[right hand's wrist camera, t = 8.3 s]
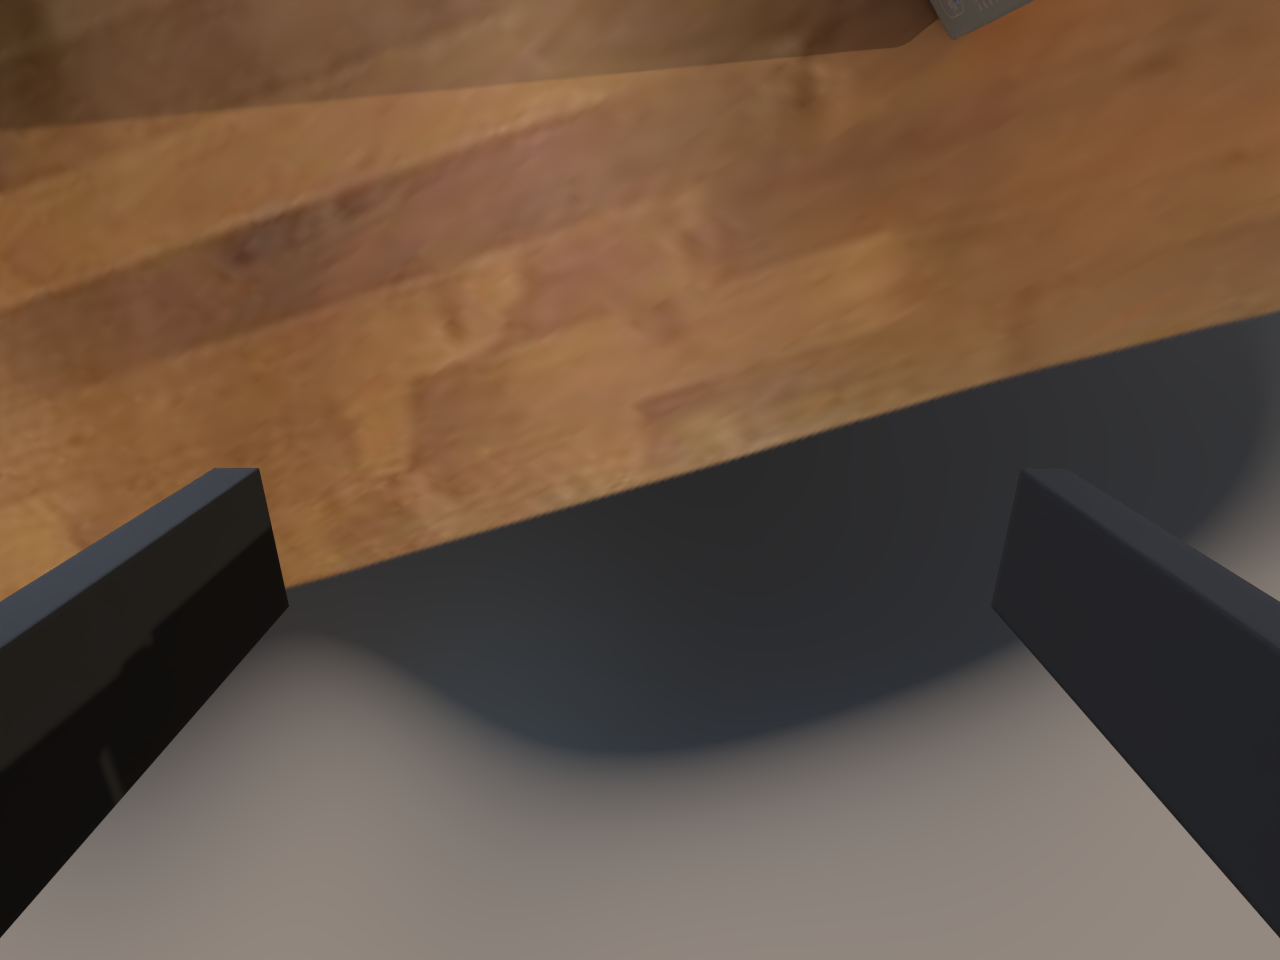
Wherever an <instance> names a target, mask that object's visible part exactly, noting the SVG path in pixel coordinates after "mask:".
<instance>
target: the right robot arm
mask: <svg viewBox="0 0 1280 960" xmlns="http://www.w3.org/2000/svg"><path fill="white" fill-rule="evenodd" d="M288 607H289V605H288V600H287V595H286V591H285V586H284V582H283V577H282V572H281V568H280V563H279V558H278V554H277V549H276V545H275V540H274V535H273V531H272V526H271V522H270V517H269V512H268V508H267V503H266V498H265V494H264V489H263V485H262V480H261V475H260V471H259V468H214V469H213V470H211V471H209V472H208V473H206V474H204V475H203V476H201V477H200V478H198V479H196V480H195V481H193V482H192V483H190V484H188V485H187V486H185V487H184V488H182V489H180V490H179V491H177V492H176V493H174V494H172V495H171V496H169V497H168V498H166V499H164V500H163V501H161V502H160V503H158V504H156V505H155V506H153V507H152V508H150V509H148V510H147V511H145V512H144V513H142V514H140V515H139V516H137V517H136V518H134V519H132V520H131V521H129V522H128V523H126V524H124V525H123V526H121V527H120V528H118V529H116V530H115V531H113V532H112V533H110V534H108V535H107V536H105V537H104V538H102V539H100V540H99V541H97V542H96V543H94V544H92V545H91V546H89V547H87V548H86V549H84V550H83V551H81V552H79V553H78V554H76V555H75V556H73V557H71V558H70V559H68V560H67V561H65V562H63V563H62V564H60V565H59V566H57V567H55V568H54V569H52V570H51V571H49V572H47V573H46V574H44V575H43V576H41V577H39V578H38V579H36V580H35V581H33V582H31V583H30V584H28V585H27V586H25V587H23V588H22V589H20V590H19V591H17V592H15V593H14V594H12V595H11V596H9V597H7V598H6V599H4V600H3V601H1V602H0V938H1V936H2V935H3V934H4V933H5V932H6V931H7V930H8V928H9V927H10V926H11V925H12V924H13V923H14V921H15V920H16V919H17V918H18V917H19V916H20V915H21V913H22V912H23V911H24V910H25V909H26V908H27V906H28V905H29V904H30V903H31V902H32V901H33V900H34V898H35V897H36V896H37V895H38V894H39V893H40V892H41V890H42V889H43V888H44V887H45V886H46V885H47V884H48V882H49V881H50V880H51V879H52V878H53V877H54V876H55V874H56V873H57V872H58V871H59V870H60V869H61V867H62V866H63V865H64V864H65V863H66V862H67V861H68V859H69V858H70V857H71V856H72V855H73V854H74V853H75V851H76V850H77V849H78V848H79V847H80V846H81V844H82V843H83V842H84V841H85V840H86V839H87V838H88V836H89V835H90V834H91V833H92V832H93V831H94V829H95V828H96V827H97V826H98V825H99V824H100V823H101V821H102V820H103V819H104V818H105V817H106V816H107V815H108V813H109V812H110V811H111V810H112V809H113V808H114V807H115V805H116V804H117V803H118V802H119V801H120V800H121V798H122V797H123V796H124V795H125V794H126V793H127V792H128V790H129V789H130V788H131V787H132V786H133V785H134V783H135V782H136V781H137V780H138V779H139V778H140V777H141V776H142V774H143V773H144V772H145V771H146V770H147V769H148V767H149V766H150V765H151V764H152V763H153V762H154V761H155V759H156V758H157V757H158V756H159V755H160V754H161V753H162V751H163V750H164V749H165V748H166V747H167V746H168V745H169V743H170V742H171V741H172V740H173V739H174V738H175V736H176V735H177V734H178V733H179V732H180V731H181V729H182V728H183V727H184V726H185V725H186V724H187V723H188V722H189V720H190V719H191V718H192V717H193V716H194V715H195V713H196V712H197V711H198V710H199V709H200V708H201V707H202V705H203V704H204V703H205V702H206V701H207V700H208V699H209V697H210V696H211V695H212V694H213V693H214V692H215V690H216V689H217V688H218V687H219V686H220V685H221V684H222V682H223V681H224V680H225V679H226V678H227V677H228V676H229V674H230V673H231V672H232V671H233V670H234V669H235V668H236V666H237V665H238V664H239V663H240V662H241V661H242V659H243V658H244V657H245V656H246V655H247V654H248V653H249V651H250V650H251V649H252V648H253V647H254V646H255V645H256V643H257V642H258V641H259V640H260V639H261V638H262V637H263V635H264V634H265V633H266V632H267V631H268V630H269V628H270V627H271V626H272V625H273V624H274V623H275V622H276V620H277V619H278V618H279V617H280V616H281V615H282V613H283V612H284V611H285V610H286V609H287V608H288ZM991 607H992V608H993V609H994V610H995V611H996V612H997V614H998V615H999V616H1000V617H1001V618H1002V619H1003V620H1004V622H1005V623H1006V624H1007V625H1008V626H1009V627H1010V628H1011V630H1012V631H1013V632H1014V633H1015V634H1016V635H1017V637H1018V638H1019V639H1020V640H1021V641H1022V642H1023V643H1024V645H1025V646H1026V647H1027V648H1028V649H1029V650H1030V651H1031V653H1032V654H1033V655H1034V656H1035V657H1036V658H1037V659H1038V661H1039V662H1040V663H1041V664H1042V665H1043V666H1044V668H1045V669H1046V670H1047V671H1048V672H1049V673H1050V674H1051V676H1052V677H1053V678H1054V679H1055V680H1056V681H1057V682H1058V684H1059V685H1060V686H1061V687H1062V688H1063V689H1064V690H1065V692H1066V693H1067V694H1068V695H1069V696H1070V697H1071V699H1072V700H1073V701H1074V702H1075V703H1076V704H1077V705H1078V707H1079V708H1080V709H1081V710H1082V711H1083V712H1084V713H1085V715H1086V716H1087V717H1088V718H1089V719H1090V720H1091V722H1092V723H1093V724H1094V725H1095V726H1096V727H1097V728H1098V729H1099V731H1100V732H1101V733H1102V734H1103V735H1104V736H1105V738H1106V739H1107V740H1108V741H1109V742H1110V743H1111V745H1112V746H1113V747H1114V748H1115V749H1116V750H1117V751H1118V753H1119V754H1120V755H1121V756H1122V757H1123V758H1124V759H1125V761H1126V762H1127V763H1128V764H1129V765H1130V766H1131V767H1132V769H1133V770H1134V771H1135V772H1136V773H1137V774H1138V776H1139V777H1140V778H1141V779H1142V780H1143V781H1144V782H1145V784H1146V785H1147V786H1148V787H1149V788H1150V789H1151V790H1152V792H1153V793H1154V794H1155V795H1156V796H1157V797H1158V799H1159V800H1160V801H1161V802H1162V803H1163V804H1164V805H1165V807H1166V808H1167V809H1168V810H1169V811H1170V812H1171V813H1172V815H1173V816H1174V817H1175V818H1176V819H1177V820H1178V822H1179V823H1180V824H1181V825H1182V826H1183V827H1184V828H1185V830H1186V831H1187V832H1188V833H1189V834H1190V835H1191V836H1192V838H1193V839H1194V840H1195V841H1196V842H1197V843H1198V844H1199V846H1200V847H1201V848H1202V849H1203V850H1204V851H1205V853H1206V854H1207V855H1208V856H1209V857H1210V858H1211V859H1212V861H1213V862H1214V863H1215V864H1216V865H1217V866H1218V867H1219V869H1220V870H1221V871H1222V872H1223V873H1224V874H1225V875H1226V877H1227V878H1228V879H1229V880H1230V881H1231V882H1232V884H1233V885H1234V886H1235V887H1236V888H1237V889H1238V890H1239V892H1240V893H1241V894H1242V895H1243V896H1244V897H1245V898H1246V900H1247V901H1248V902H1249V903H1250V904H1251V905H1252V907H1253V908H1254V909H1255V910H1256V911H1257V912H1258V913H1259V915H1260V916H1261V917H1262V918H1263V919H1264V920H1265V921H1266V923H1267V924H1268V925H1269V926H1270V927H1271V928H1272V930H1273V931H1274V932H1275V933H1276V934H1277V935H1278V936H1279V938H1280V602H1279V601H1277V600H1276V599H1274V598H1273V597H1271V596H1269V595H1268V594H1266V593H1265V592H1263V591H1261V590H1260V589H1258V588H1257V587H1255V586H1253V585H1252V584H1250V583H1249V582H1247V581H1245V580H1244V579H1242V578H1241V577H1239V576H1237V575H1236V574H1234V573H1233V572H1231V571H1229V570H1228V569H1226V568H1225V567H1223V566H1221V565H1220V564H1218V563H1217V562H1215V561H1213V560H1212V559H1210V558H1209V557H1207V556H1205V555H1204V554H1202V553H1200V552H1199V551H1197V550H1196V549H1194V548H1193V547H1191V546H1189V545H1188V544H1186V543H1184V542H1183V541H1181V540H1180V539H1178V538H1176V537H1175V536H1173V535H1172V534H1170V533H1168V532H1167V531H1165V530H1164V529H1162V528H1160V527H1159V526H1157V525H1156V524H1154V523H1152V522H1151V521H1149V520H1148V519H1146V518H1144V517H1143V516H1141V515H1140V514H1138V513H1136V512H1135V511H1133V510H1132V509H1130V508H1128V507H1127V506H1125V505H1123V504H1122V503H1120V502H1119V501H1117V500H1116V499H1114V498H1112V497H1111V496H1109V495H1107V494H1106V493H1104V492H1103V491H1101V490H1100V489H1098V488H1096V487H1095V486H1093V485H1092V484H1090V483H1088V482H1087V481H1085V480H1084V479H1082V478H1080V477H1079V476H1077V475H1075V474H1074V473H1072V472H1071V471H1069V470H1067V469H1066V468H1021V471H1020V476H1019V480H1018V485H1017V489H1016V494H1015V498H1014V503H1013V508H1012V512H1011V517H1010V522H1009V526H1008V531H1007V535H1006V540H1005V545H1004V549H1003V554H1002V558H1001V563H1000V568H999V572H998V577H997V582H996V586H995V591H994V595H993V600H992V605H991Z"/></svg>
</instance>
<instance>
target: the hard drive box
mask: <svg viewBox="0 0 1280 960" xmlns="http://www.w3.org/2000/svg"><path fill="white" fill-rule="evenodd" d="M1032 1H1034V0H930V2H931V4H932V6H933V8H934V9H935V11H936V13H937V15H938V17H939V18H940V20H941V22H942V24H943V26H944V27H945V29H946V31H947V33H948V34H949V36H950V37H951V39H954V40H955V39H957V38H959V37H961V36H963V35H965V34H967V33H970V32H972V31H974V30H976V29H978V28H980V27H982V26H984V25H986V24H988V23H990V22H992V21H994V20H996V19H998V18H1000V17H1002V16H1004V15H1006V14H1008V13H1010V12H1012V11H1014V10H1016V9H1018V8H1020V7H1022V6H1024V5H1026V4H1028V3H1030V2H1032Z"/></svg>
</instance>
